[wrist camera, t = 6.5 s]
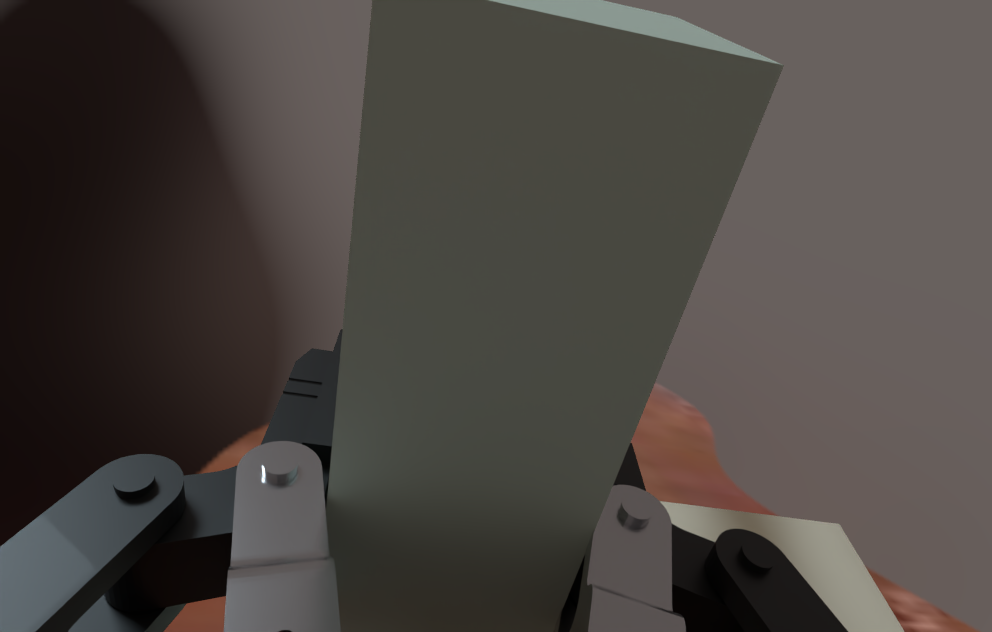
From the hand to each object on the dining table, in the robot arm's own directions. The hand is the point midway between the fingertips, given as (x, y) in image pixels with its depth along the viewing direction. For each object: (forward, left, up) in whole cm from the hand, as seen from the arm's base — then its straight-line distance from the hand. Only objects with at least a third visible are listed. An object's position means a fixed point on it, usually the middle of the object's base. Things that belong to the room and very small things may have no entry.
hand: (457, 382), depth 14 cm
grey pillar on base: (+1, +3, -8) cm, 8 cm away
